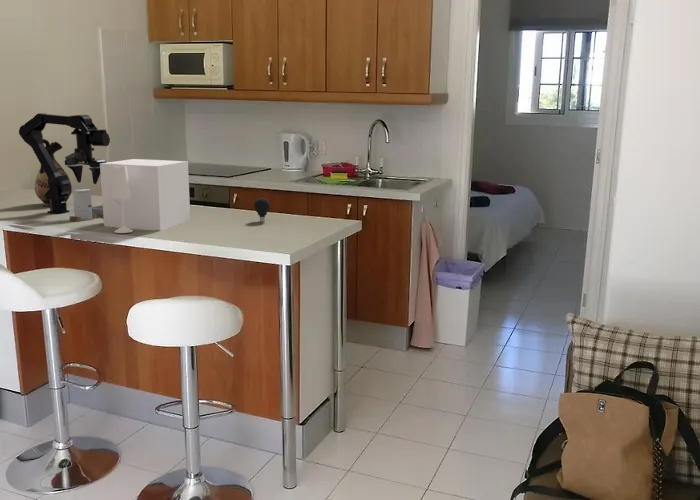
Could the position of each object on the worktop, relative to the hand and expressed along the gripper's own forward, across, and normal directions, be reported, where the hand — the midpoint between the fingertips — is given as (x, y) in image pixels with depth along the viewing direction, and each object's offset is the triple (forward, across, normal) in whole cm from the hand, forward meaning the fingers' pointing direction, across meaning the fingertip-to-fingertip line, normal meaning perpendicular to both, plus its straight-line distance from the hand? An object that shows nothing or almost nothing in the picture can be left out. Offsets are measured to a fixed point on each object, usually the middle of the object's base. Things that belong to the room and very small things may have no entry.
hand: (87, 183), depth 283 cm
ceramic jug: (+13, -32, +8) cm, 36 cm away
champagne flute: (+13, +40, -20) cm, 47 cm away
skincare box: (+13, +8, -10) cm, 18 cm away
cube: (+14, +36, -4) cm, 39 cm away
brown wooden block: (+13, +8, -10) cm, 18 cm away
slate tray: (+13, +8, +5) cm, 16 cm away
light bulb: (+13, +74, +21) cm, 78 cm away
